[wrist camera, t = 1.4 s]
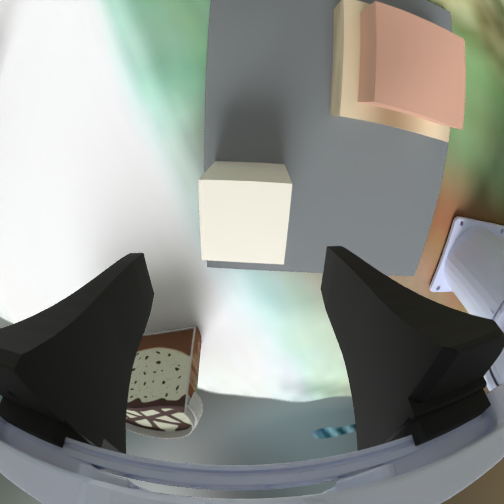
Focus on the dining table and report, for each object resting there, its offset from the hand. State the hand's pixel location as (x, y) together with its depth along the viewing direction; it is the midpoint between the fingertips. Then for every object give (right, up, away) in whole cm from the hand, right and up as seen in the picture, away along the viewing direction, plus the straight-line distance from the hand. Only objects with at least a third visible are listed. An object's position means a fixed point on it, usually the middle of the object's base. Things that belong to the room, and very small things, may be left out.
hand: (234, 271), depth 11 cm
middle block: (+10, +12, +1) cm, 15 cm away
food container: (-8, -10, +18) cm, 22 cm away
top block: (0, +5, +8) cm, 9 cm away
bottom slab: (+10, +13, +3) cm, 16 cm away
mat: (+7, +10, +6) cm, 13 cm away
